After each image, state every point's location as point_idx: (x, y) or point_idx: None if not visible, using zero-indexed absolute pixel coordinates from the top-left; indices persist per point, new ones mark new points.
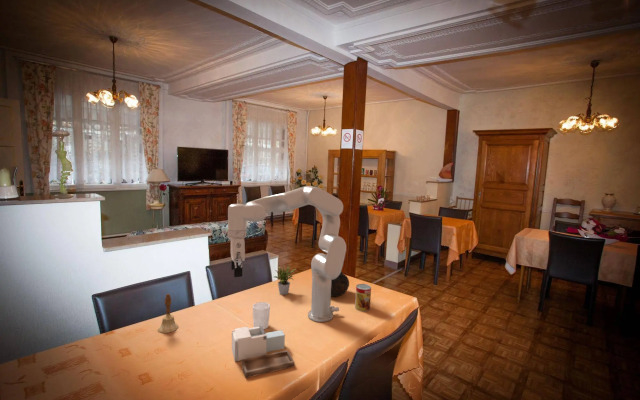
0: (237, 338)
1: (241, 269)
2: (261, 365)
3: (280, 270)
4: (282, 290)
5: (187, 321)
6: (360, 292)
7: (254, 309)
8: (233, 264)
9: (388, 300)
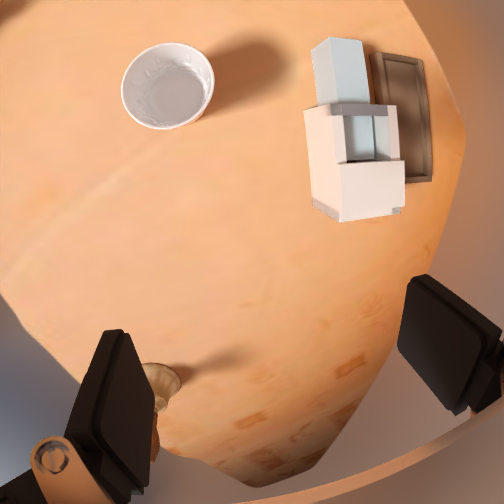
0: (398, 206)
1: (477, 323)
2: (407, 135)
3: None
4: None
5: None
6: None
7: (193, 119)
8: (143, 436)
9: None
